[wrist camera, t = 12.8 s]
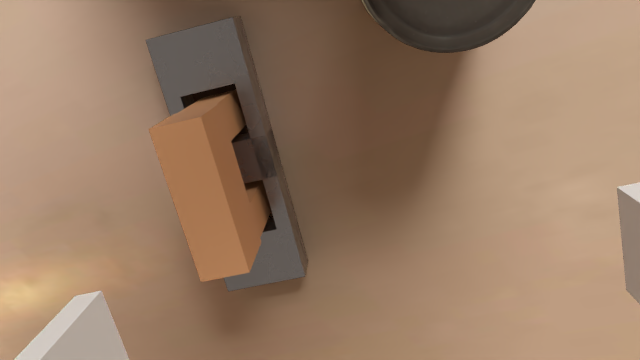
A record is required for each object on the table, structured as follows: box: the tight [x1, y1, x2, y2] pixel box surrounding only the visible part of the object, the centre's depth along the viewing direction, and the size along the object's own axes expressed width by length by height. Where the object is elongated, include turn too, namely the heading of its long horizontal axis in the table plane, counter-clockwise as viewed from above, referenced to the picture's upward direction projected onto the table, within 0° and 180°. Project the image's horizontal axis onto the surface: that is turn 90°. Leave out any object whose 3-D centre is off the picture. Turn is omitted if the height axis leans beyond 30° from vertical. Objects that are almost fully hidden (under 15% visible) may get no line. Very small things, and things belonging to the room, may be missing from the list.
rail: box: [146, 16, 308, 291], centre depth 46 cm, size 22×7×3 cm, turn 14°
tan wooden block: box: [149, 90, 271, 282], centre depth 41 cm, size 11×4×12 cm, turn 14°
